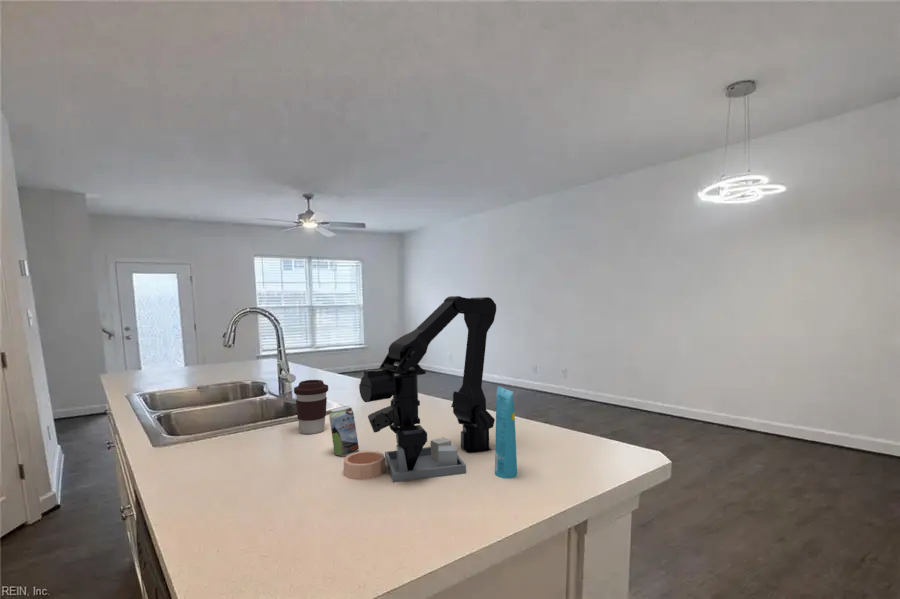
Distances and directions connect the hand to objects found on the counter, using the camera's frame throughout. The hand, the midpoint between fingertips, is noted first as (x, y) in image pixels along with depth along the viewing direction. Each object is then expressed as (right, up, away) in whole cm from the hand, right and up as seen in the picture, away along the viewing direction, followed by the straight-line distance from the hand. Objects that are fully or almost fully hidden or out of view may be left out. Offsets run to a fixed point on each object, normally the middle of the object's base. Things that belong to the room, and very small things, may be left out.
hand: (406, 463), depth 101 cm
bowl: (-9, -2, -1) cm, 10 cm away
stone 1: (0, -1, 0) cm, 1 cm away
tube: (+22, -1, -4) cm, 23 cm away
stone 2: (+8, -1, +5) cm, 10 cm away
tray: (+4, -2, +1) cm, 4 cm away
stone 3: (+9, -1, -1) cm, 10 cm away
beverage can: (-17, -2, +11) cm, 20 cm away
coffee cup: (-32, -2, +32) cm, 45 cm away
